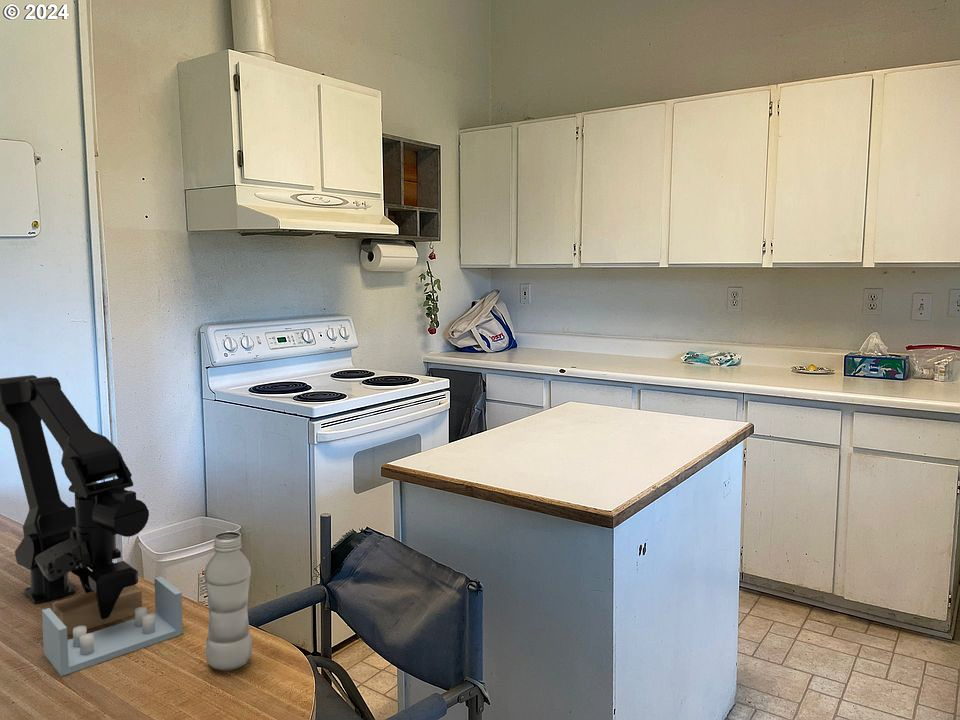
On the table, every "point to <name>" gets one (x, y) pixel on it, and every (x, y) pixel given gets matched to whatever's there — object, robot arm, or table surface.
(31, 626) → the table surface
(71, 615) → the shelf block
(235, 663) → the plastic bottle
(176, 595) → the peg rack
